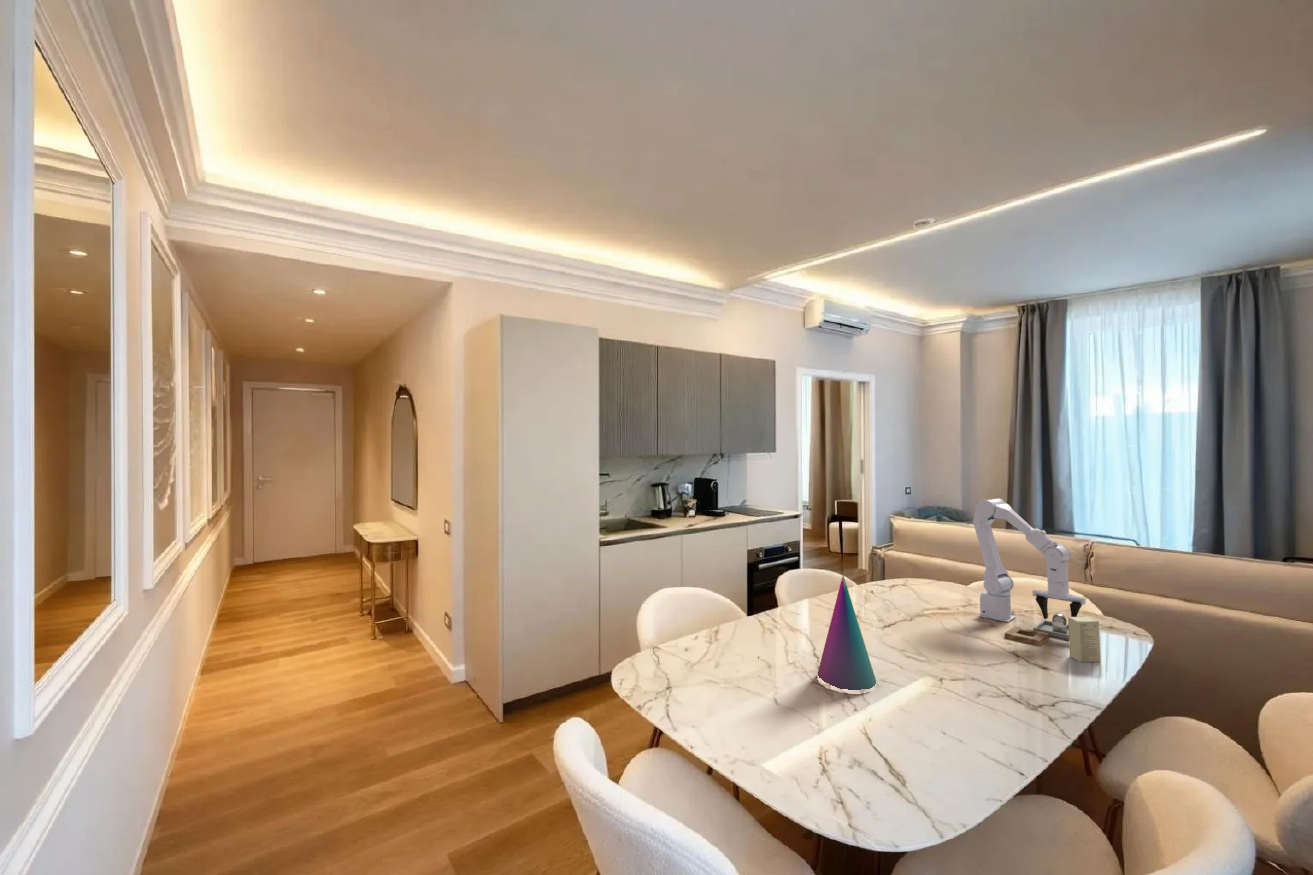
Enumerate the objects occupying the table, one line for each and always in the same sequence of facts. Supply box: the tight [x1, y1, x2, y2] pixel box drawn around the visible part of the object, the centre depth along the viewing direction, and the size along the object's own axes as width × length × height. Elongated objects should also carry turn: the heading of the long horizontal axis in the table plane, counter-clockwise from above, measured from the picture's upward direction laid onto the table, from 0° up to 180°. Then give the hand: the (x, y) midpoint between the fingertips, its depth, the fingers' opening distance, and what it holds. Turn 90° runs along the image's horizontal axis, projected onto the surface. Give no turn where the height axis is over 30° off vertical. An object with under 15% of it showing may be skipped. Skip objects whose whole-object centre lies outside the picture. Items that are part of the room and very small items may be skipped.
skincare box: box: [1067, 616, 1101, 663], centre depth 159 cm, size 6×4×12 cm
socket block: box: [1003, 625, 1050, 646], centre depth 177 cm, size 10×10×2 cm
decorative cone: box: [817, 574, 877, 690], centre depth 148 cm, size 16×16×30 cm
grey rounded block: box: [1051, 613, 1068, 634], centre depth 181 cm, size 4×4×6 cm
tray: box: [1032, 619, 1069, 641], centre depth 181 cm, size 12×12×2 cm
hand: (1059, 620), depth 181 cm, fingers open, 7 cm apart
